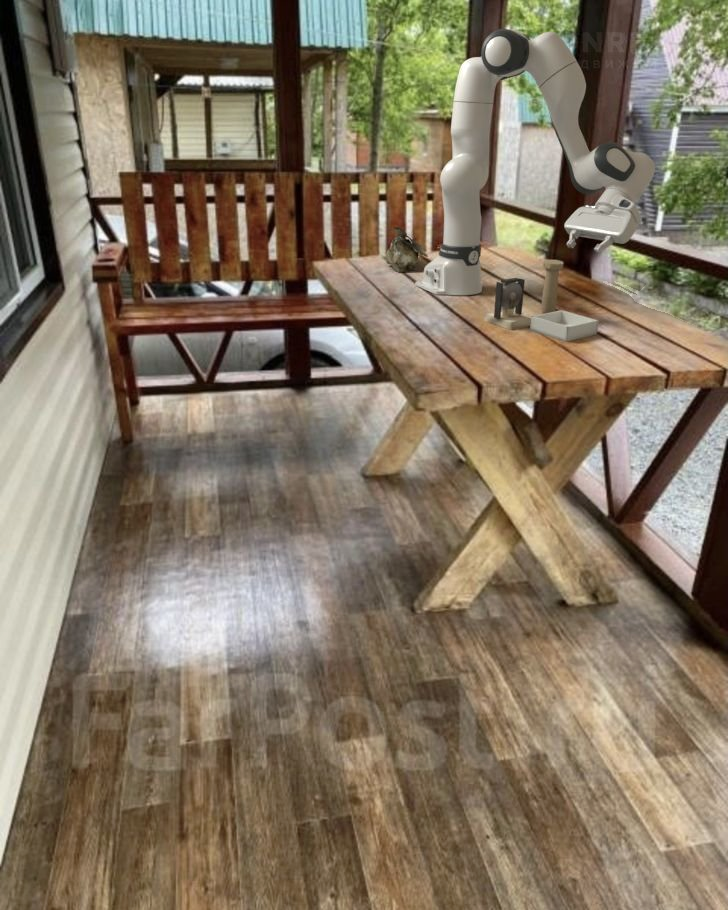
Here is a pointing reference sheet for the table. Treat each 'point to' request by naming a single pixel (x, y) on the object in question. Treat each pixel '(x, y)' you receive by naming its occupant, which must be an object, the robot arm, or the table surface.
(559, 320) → the tray
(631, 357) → the table surface
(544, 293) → the handle
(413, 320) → the table surface
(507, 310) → the pulley block
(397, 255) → the hollow geode rock
